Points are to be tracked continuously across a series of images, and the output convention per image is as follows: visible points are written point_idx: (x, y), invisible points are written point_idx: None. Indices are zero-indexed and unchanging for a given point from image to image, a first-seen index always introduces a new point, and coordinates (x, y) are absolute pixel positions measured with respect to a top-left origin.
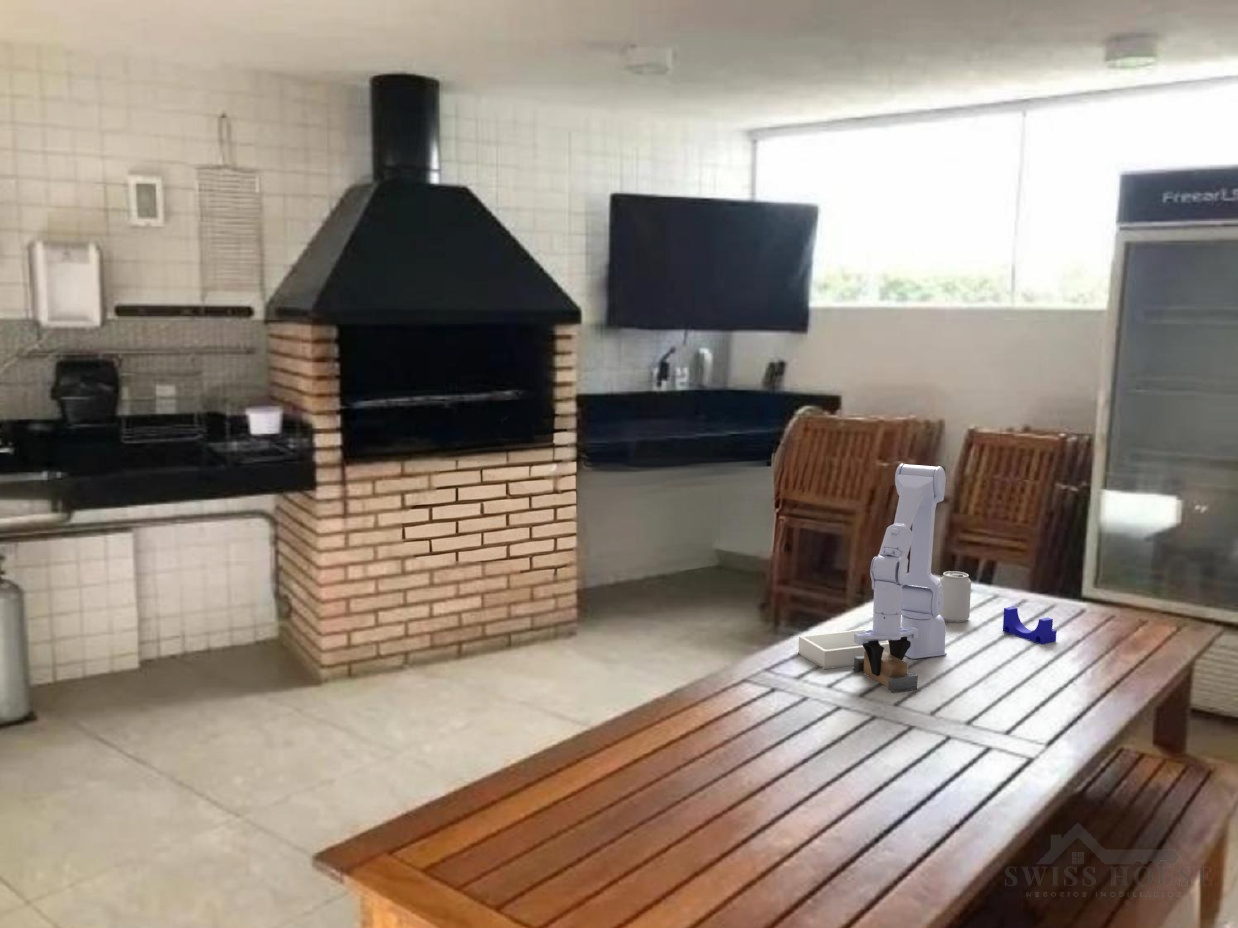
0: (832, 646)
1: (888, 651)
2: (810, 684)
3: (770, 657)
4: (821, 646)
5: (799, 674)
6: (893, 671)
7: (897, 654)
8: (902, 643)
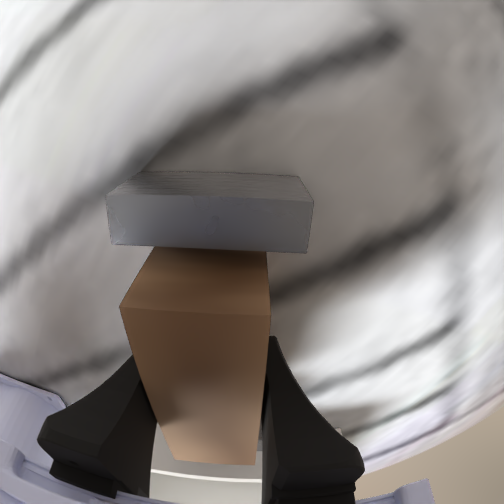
0: (228, 483)
1: None
2: (467, 350)
3: (376, 465)
4: (257, 486)
5: (422, 406)
6: (248, 283)
7: (137, 406)
8: (97, 459)
